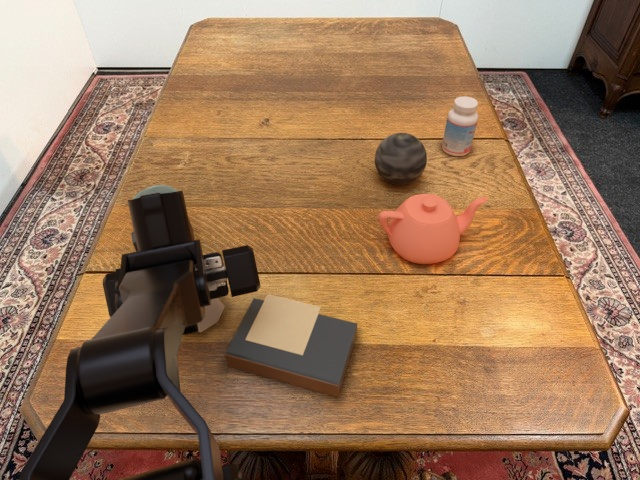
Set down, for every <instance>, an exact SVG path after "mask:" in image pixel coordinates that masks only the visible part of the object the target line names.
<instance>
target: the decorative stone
mask: <svg viewBox="0 0 640 480" xmlns="http://www.w3.org/2000/svg"><path fill="white" fill-rule="evenodd" d="M427 162H428V155H427V150H426V147H425V145H424V144H423V142H422V141H421V140H420V139H419V138H418V137H416V136H415V135H413V134H411V133H408V132H396V133H393V134H390V135H388V136H386V137H385V138H383V140H381V142H380V143H379V145H378V146H377V148H376V150H375V154H374V167H375V168H376V171H377V173H378V175H379V176H380V177H381V178H382V179H383V180H384V181H385V182H387V183H388V184H392V185H395V186H405V185H408V184H411V183H413V182H415V181H416V180H418V179H419V178H420V177H421V175H422V174H423V173H424V171H425V169H426V168H427Z"/></svg>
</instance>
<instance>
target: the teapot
mask: <svg viewBox="0 0 640 480" xmlns="http://www.w3.org/2000/svg"><path fill="white" fill-rule="evenodd" d="M487 201H489V198H488V197H486V196H482V197H479V198H476V199H474V200H473V201H471V202H470V203H469V205H468V206H467V207H466V208H465V210H464V211H463V212H462V213H460V214H459V215H457V216H456V214H455V212H454V210H453V208H452V207H451V205H450V203H449V202H448V201H447V200H446V199H444V197H442V196H440V195H436V194H433V193H420V194H415V195H412V196H410V197H408V198H407V199H405V200H404V201H403V202H402V203H401V204H400V205H399V206H398V207H397V208H396V210H383V211H380V212H379V213H378V215H377V216H378V217H377V219H378V223H379V225H380V227H381V228H382V229H383V230H384V232H385V233H386V234H387V237H388V241H389V243H390V245H391V247H392V248H393V250H394V251H395V252H396V253H397V254H398V256H400V257H401V258H403V259H405V261H407V262H410V263H412V264H418V265H431V264H436V263H437V264H438V263H440V262H444V261H446V260H448V259H450V258H451V257H453V255H454V254H455V253H456V252H457V250H458V249H459V245H460V239H461V238H460V237H461V235H463V234H464V233H466V232H467V231H468V230H469V229H470V227H471V226H472V223H473V220H474V218H475V215H476V212H477V210H478V209H479V208H480V206H482V205H484V204H485V203H486V202H487ZM389 219H390V220H389ZM388 220H389V222H388Z"/></svg>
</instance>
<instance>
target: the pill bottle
mask: <svg viewBox="0 0 640 480" xmlns="http://www.w3.org/2000/svg"><path fill="white" fill-rule="evenodd" d="M478 106H479V102H478V100H477V99H475V98H474V97H471V96H465V95H464V96H463V95H462V96H457V97H456V98H455V99H454V101H453V106H452V108H451V109H450V110H449V111H448V113H447V118H446V122H445V123H446V124H445V128H444V131H443V132H444V133H443V137H442V143H441V149H442V150H443V152H444V153H446V154H447V155H449V156H453V157H463V156H467V155H468V154H469V153H470V152H471V150H472V145H473V142H474V138H475V134H476V130H477V125H478V122H479V114H478V112H477V110H478Z"/></svg>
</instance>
